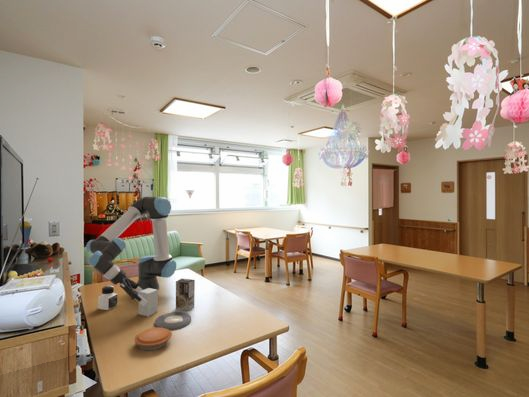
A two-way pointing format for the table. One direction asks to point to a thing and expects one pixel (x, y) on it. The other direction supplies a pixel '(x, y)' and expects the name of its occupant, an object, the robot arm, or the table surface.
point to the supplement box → (149, 302)
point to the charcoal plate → (173, 320)
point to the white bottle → (107, 298)
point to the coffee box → (185, 294)
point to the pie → (153, 338)
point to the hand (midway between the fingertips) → (145, 299)
